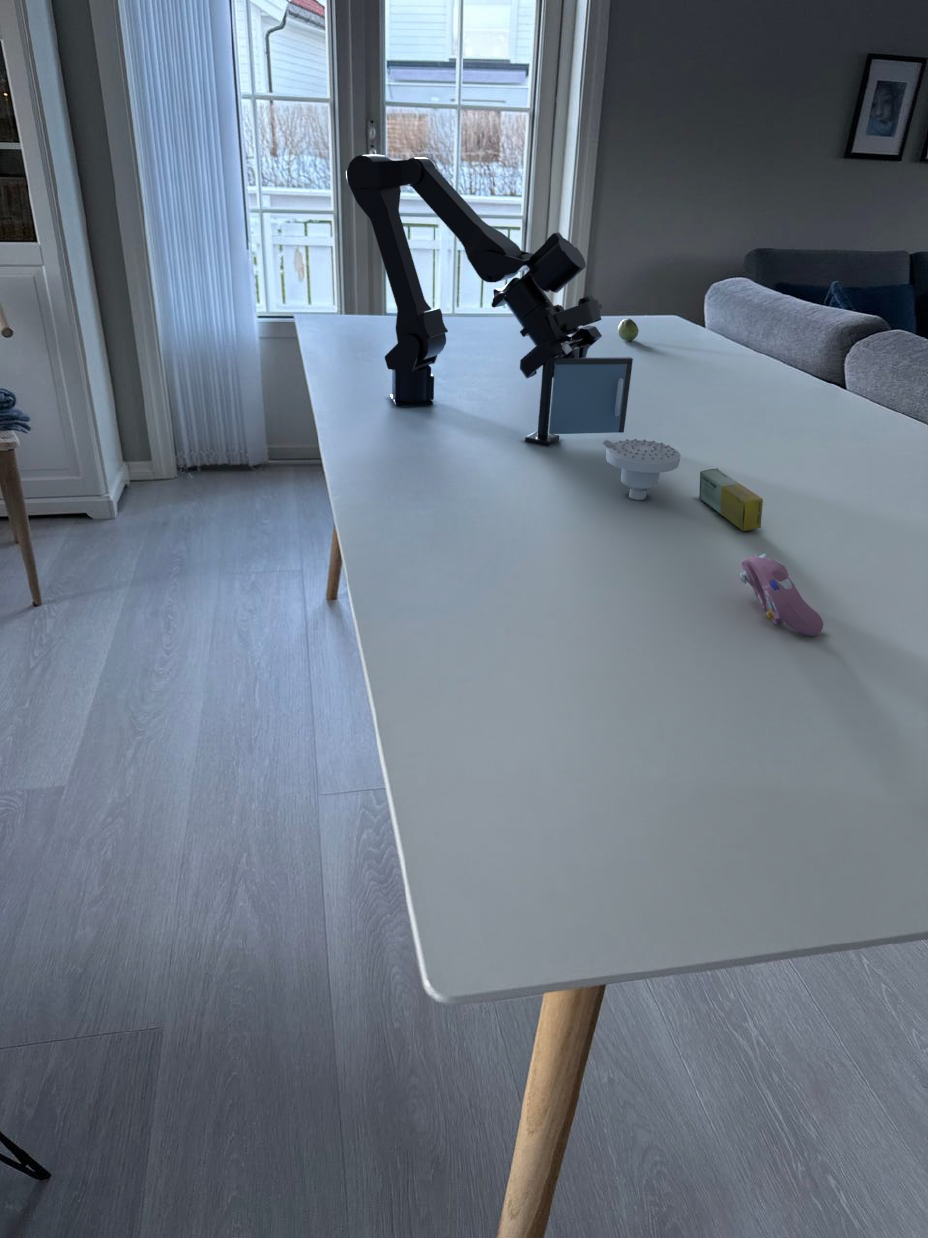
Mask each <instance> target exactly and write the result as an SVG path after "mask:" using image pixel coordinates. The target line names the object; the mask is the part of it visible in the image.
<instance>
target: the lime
mask: <svg viewBox="0 0 928 1238" xmlns="http://www.w3.org/2000/svg"><path fill="white" fill-rule="evenodd" d="M617 335H618V336H619V337H620V339H622V340H623V341H628V342H629V341H634V340H635V339H636V338H637V337H638V335H639V327H638V325H637V323H636V322H635V321H634V320H633V319H631V318H624V319H622V320H621V322H620V323H619V324H618V327H617Z"/></svg>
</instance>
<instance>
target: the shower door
mask: <svg viewBox="0 0 928 1238" xmlns="http://www.w3.org/2000/svg"><path fill="white" fill-rule="evenodd" d="M633 360H634V358H633V357H631V356H630V357H628V356H626V357H624V356H623V357H619V356H618V357H616V356H615V357H586V358H555V366H554V378H552V390H551V402H550V414H549V427H548V433H549V434H554V435H572V434H614V433H616V434H617V433H619V434H620V433H621V434H622V433H623V434H624V433H625V426H626V419H627V411H628V401H629V395H630V394H629V393H630V386H631V378H632V377H631V376H632V370H633Z"/></svg>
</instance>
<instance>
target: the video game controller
mask: <svg viewBox="0 0 928 1238" xmlns="http://www.w3.org/2000/svg"><path fill="white" fill-rule="evenodd" d="M741 568H742V570H743V573H742V572H740V573H739V574H740V575H739V578H740V581H741V582H742V583H743V584H745V585H747V583H748V584H749V586H750V587H751V589H752V590H753V592H754V595H755V597H756V600H757V602H758V603H759V605H760V607H761V609H762V610H767V611H766V616H767V618H768V619H770V620H772V623H774V625H779V624H782V623H785V624H786V625H787V626H788V627H790V629H792V630H794V631H796V632H797V633H799V634H801V635H804V636H808V637H814V636H815V637H816V636H818V635H820V633H821V632H822V631H823V629H824V620H823V619H822V617H821V615H820V614H819V613H818V612H817V611H816V610H815V609H814V608H813V607H811V605H809V604H808V603H807V602H806V600H804V599H803V597H802V596H801V594H800V592H799V590H798V588H797V587H796V584H794V582H793V581H792V579H791V578H790V575H789V572H788V569H787V568H786V567H785V565H784V564H782V563H781V562H779V561H778V560H775V559H773V558H770V557H768V556H767V554H766V553H765V552H764V553H762V554H761V555H753V556H751V557H749V558H746V559H743V560H741Z"/></svg>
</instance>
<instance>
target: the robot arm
mask: <svg viewBox="0 0 928 1238" xmlns="http://www.w3.org/2000/svg"><path fill="white" fill-rule="evenodd" d="M345 177H346V183H347V186H349V190H350V192H351V194H352V196H353V198H354V201H355V202H356V205H358V206H359V208H360V209H361V210H362V212H363V213H364V214H365V215H366V216H367V218H368V219H369V221H370V224H371V227H372V230H373V233H374V237H375V240H376V243H377V247H378V250H379V254H380V256H381V260H382V263H383V267H384V270H385V273H386V276H387V280H388V283H389V287H390V289H391V293H392V296H393V299H394V302H395V306H396V320H395V329H394V330H395V335H396V341H397V343H396V344H395V345H394V346H393V347H392V348H391V349H390V350H389V351H388V352H387V353H386V355H384V362H385V364H386V367H387V369H388V370H391V394H390V395H389V398H390V400H391V401H392V403H393V404H394V406H395V407H399V408H402V407H404V408H405V407H406V408H407V407H433V406H434V401H433V400H434V399H435V376H434V375H433V374H432V367H431V366H430V365H434V364H435V363H436V361H437V359H438V356H439V355H440V354H441V353H442V352H443V350H444V349H445V346H446V344H447V335H446V334H447V333H448V332H449V331H448V328H447V327H446V325H445V322H444V318H443V312H442V310H441V308H440V307H437V308H434V309H432V307H431V306H430V304H429V303H428V302H427V301H426V299H425V296H424V292H423V288H422V286H421V282H420V279H419V276H418V271H417V268H416V265H415V261H414V259H413V255H412V252H411V248H410V245H409V242H408V238H407V235H406V232H405V229H404V225H403V222H402V218H401V214H400V203H401V194H402V193H401V187H406V186H410V187H411V188H412V189H413V190H414V191H415V192H416V193H417V195H418V196H419V197H420V198H421V199H422V200H423V201H424V202H425V203H426V205H427V206H428V207H429V208H430V209H431V210H432V211H433V212H434V214H435V215H436V216H437V217H438V218H439V219H440V220H441V221H442V222H443V223H444V225H445V226H446V227H447V228H448V229H449V230H450V231H451V233H453V235H454V236H455V237H456V238H457V240H459V242H460V244H461V245H462V246H463V250H464V252H465V255H466V258H467V261H468V263H470V265H471V266H472V268H473V270H474V271H475V273H476V274H477V276H478V277H479V278H480V279H481V280H482V281H483V282H485V283H499V282H503V281H506V280H509V282H508V283H507V284H505V285H504V286H503V287H498V288H494V289H492V292H493V295H492V299H491V304H490V305H491V307H492V308H500V307H503V306H505V305H506V306H507V307H508V308H509V310H510V311H511V313H512V314H513V316H514V317H515V319H516V320H517V322H518V323H519V324H520V326H521V327H522V329H521V330H519V333H520V335H521V336H522V338H525V337H529V339H530V341H531V342H532V343H533V345H535V346H534V347H533V348H532V349H531V350H530V351H528V352H527V353H526V354H525V355H524V356H523V357H522V358H521V359H520V360H519V370H520V371H521V373H522V375H523V376H524V377H525V379H529V378H532V377H534V376H536V375H537V374H538V372H537V371H538V370H539V369H540V368H541V367H543V364H544V363H545V362H547V361H548V360H549V359H550V358H551V357H552V356H554V366H555V358H587V356H588V355H587V354H588V350H589V349H590V348H591V347H592V346H593V345H594V344H595V343H596V342H597V341H599V340H600V339H601V338H602V337H603V335H602V334H601V332H600V331H599V329H598V328H597V326H595V325H591V324H594V323H596V322H599V321H602V316H601V310H602V309H603V304H601V303H599V299H597V298H596V299H595V298H594V297H593V296H592V295H591V294H590V295H586V296H584V297H582V298H578V301H577V305H575V306H572V307H570V308H567V309H565V308H564V307H563V305H560V304H555V305H554V304H553V303H552V301H551V300H550V298H549V296H547V294H546V293H549V292H552V293H554V294H557V293H560V291H561V290H563V288H564V287H566V286H567V285H569V283H570V282H571V281H573V280H574V278H576V276H578V275H579V274H580V273H581V272H582V271H583V270H584V269H586V266H587V263H586V260H585V258H584V256H583V254H582V253H581V251H580V250H579V248H578V247H577V246H574V245H573V244H572V243H571V242H570V241H569V240H568V239H566V238H564V237H563V235H562V234H561V232H557V231H556V232H553V233H551V235H550V236H549V237H548V238H547V239H546V241H545V242H544V243H543V244H542V245H541V246H540V247H539V248H538V249H537V250H536V251H535V252H534V253H533V252H529V251H526V250H522V249H521V248H520V246H519V245H518V244H517V243H516V242H514V241H513V240H512V239H510V237H508V236H506V234H504V233H503V232H501V231H500V230H498V229H497V228H494V227H492V226H491V225H489V224H488V223H486V222H485V221H484V220H483V219H482V218H481V217H480V216H479V215H478V213H477V212H475V210H474V209H473V208H472V206H470V205H469V203H467V201H466V200H465V199H464V198H463V197H462V196H461V195H460V194H459V192H458V191H457V190H456V189H455V188H454V187H453V186H452V185H451V184H450V182H449V181H448V180H447V179H446V178H445V177H444V176H443V174H442V173H441V172H440V171H439V170H438V168H437V167H436V165H435V164H434V162H433V161H432V160H431V159H430V158H427V157H410V158H408V159H401V160H400V159H399V160H398V159H397V160H393V159H391V158H389V156H386V155H384V154H383V155H382V154H359V155H356V156H354V157H353V158H352V159H351V161H350V162H349V164H348V167H347V169H346V171H345ZM525 271H527V272H526V273H525V274H524V275H522V276H521V277H520V278H519V277H516V276H517V275H518V274H519V273H520V272H525ZM510 279H511V280H510ZM581 326H582V327H581ZM554 366H553V378H554ZM553 378H552V379H553Z"/></svg>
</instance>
